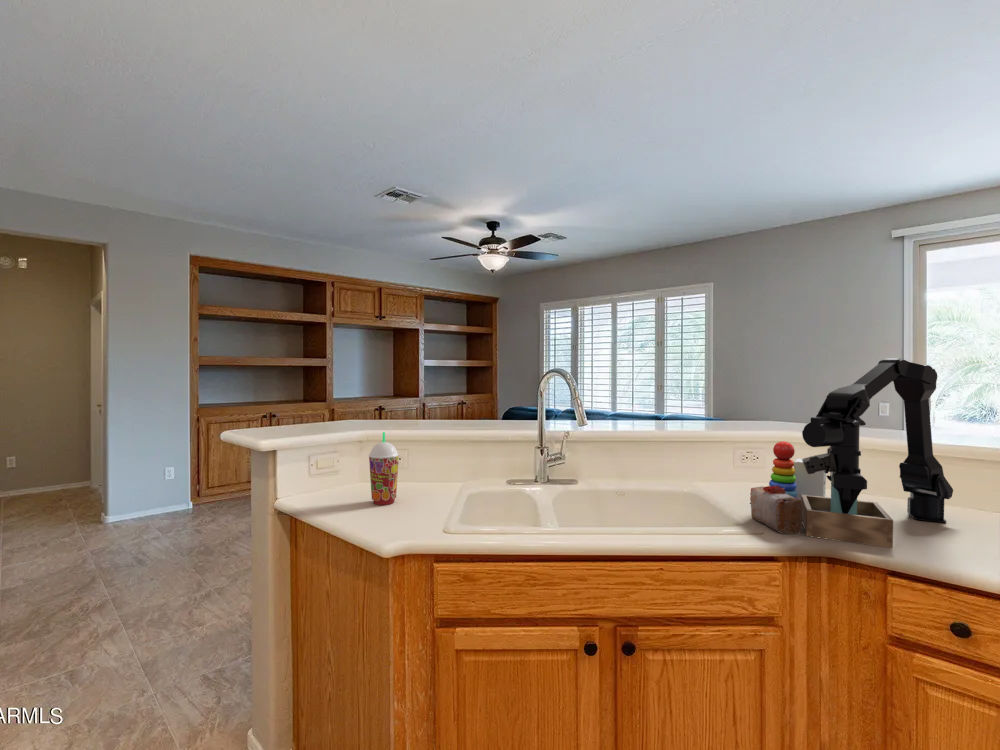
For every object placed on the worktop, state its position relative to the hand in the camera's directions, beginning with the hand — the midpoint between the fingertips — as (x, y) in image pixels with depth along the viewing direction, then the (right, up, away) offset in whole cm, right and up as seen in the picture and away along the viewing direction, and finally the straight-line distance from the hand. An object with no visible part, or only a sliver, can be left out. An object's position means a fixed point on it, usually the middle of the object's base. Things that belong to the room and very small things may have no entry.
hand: (843, 510), depth 122 cm
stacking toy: (-5, -5, +18) cm, 19 cm away
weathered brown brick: (-13, -5, +5) cm, 15 cm away
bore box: (0, -5, 0) cm, 5 cm away
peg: (0, -3, 0) cm, 3 cm away
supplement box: (+5, -5, +22) cm, 23 cm away
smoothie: (-114, -4, +24) cm, 117 cm away
